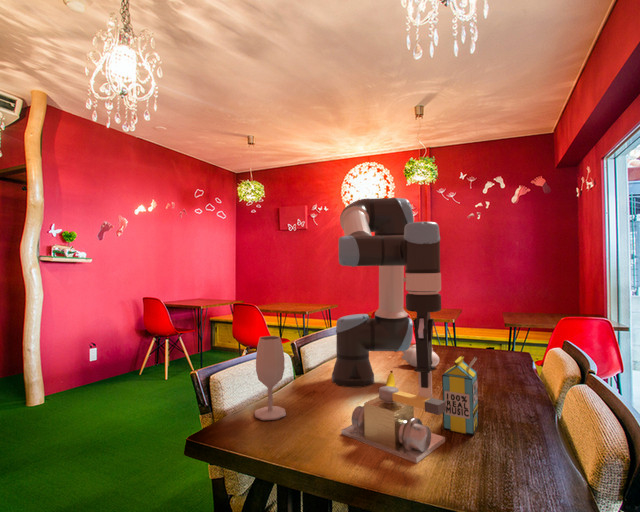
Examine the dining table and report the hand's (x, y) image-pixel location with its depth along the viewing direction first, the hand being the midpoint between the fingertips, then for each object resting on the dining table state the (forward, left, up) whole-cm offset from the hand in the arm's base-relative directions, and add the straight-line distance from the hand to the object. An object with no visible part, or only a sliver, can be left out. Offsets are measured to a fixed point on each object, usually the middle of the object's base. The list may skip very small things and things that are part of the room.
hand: (425, 401), depth 80 cm
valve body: (-9, 0, -11) cm, 14 cm away
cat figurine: (-36, +64, -11) cm, 74 cm away
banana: (-24, +22, -11) cm, 34 cm away
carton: (+1, +17, -11) cm, 20 cm away
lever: (-3, -2, -1) cm, 4 cm away
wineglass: (-41, -10, -11) cm, 44 cm away
